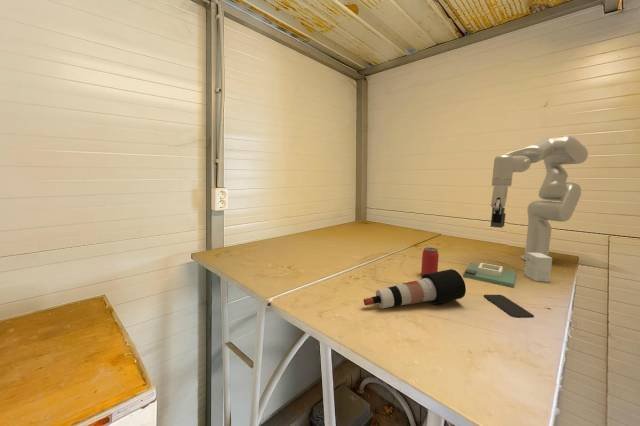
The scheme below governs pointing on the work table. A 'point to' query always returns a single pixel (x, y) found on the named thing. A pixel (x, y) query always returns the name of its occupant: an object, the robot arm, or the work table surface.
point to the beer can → (429, 261)
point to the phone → (508, 306)
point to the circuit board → (505, 279)
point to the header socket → (490, 270)
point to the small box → (538, 267)
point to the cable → (422, 290)
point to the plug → (501, 219)
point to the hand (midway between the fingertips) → (497, 221)
